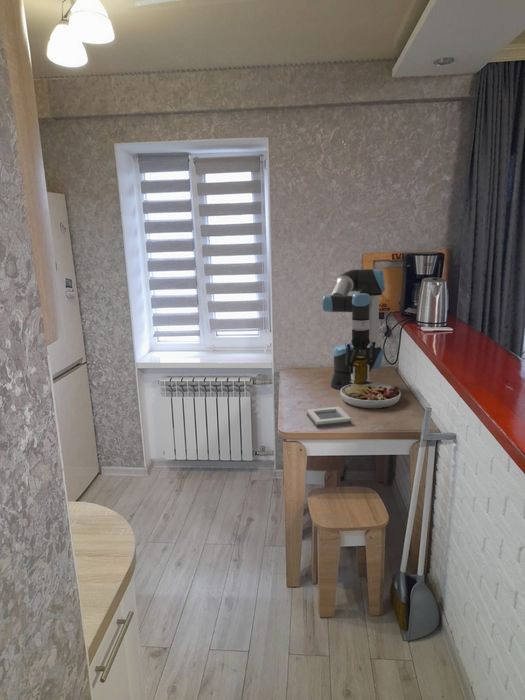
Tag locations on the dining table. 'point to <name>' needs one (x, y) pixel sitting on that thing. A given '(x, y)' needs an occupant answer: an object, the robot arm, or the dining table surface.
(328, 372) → the dining table surface
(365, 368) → the condiment
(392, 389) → the bowl
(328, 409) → the pocket plate
